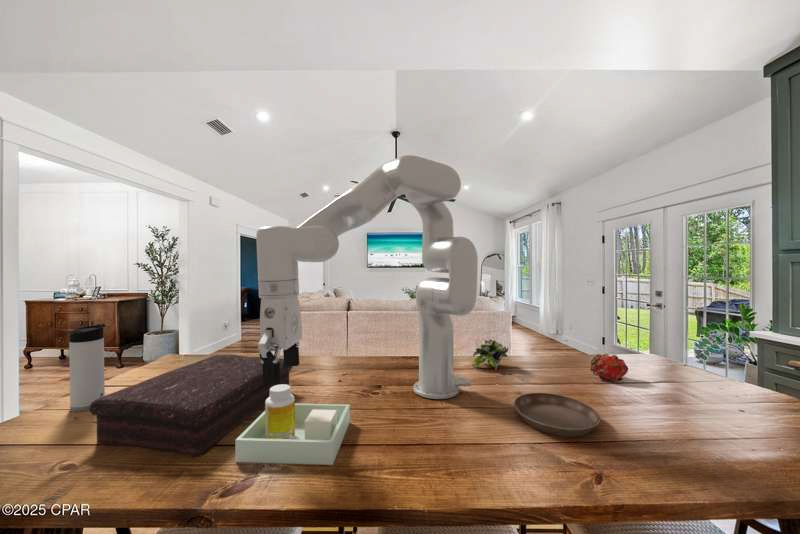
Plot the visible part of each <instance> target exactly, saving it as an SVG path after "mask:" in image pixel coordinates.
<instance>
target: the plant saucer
mask: <svg viewBox="0 0 800 534" xmlns="http://www.w3.org/2000/svg"><path fill="white" fill-rule="evenodd" d="M513 404H514V405H513V406H514V408H515V410H516V411H517V413H518V415H519V416H520V417H521V419H523V421H524V422H525V423H526V424H528V425H529V426H531V427H532V428H534V429H536V430H538V431H539V432H543V433H546V434H549V435H555V436H560V437H567V438H568V437H569V438H572V437H573V438H574V437H581V436H585V435H586V434H589V433H591V432H592V431H593V430H594V429H596V427H598V425H599V424H600V423H601V416H600V414H599V413H598V411H597V410H596V409H594V408H593V407H592V406H590V405H589V404H588V403H584V402H582V401H580V400H578V399H575V398H572V397H568V396H565V395H561V394H556V393H549V392H547V393H546V392H530V393H529V392H528V393H526V394H525V393H524V394H522V395H519V396H518V397H516V399H515V400H514V401H513Z"/></svg>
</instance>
